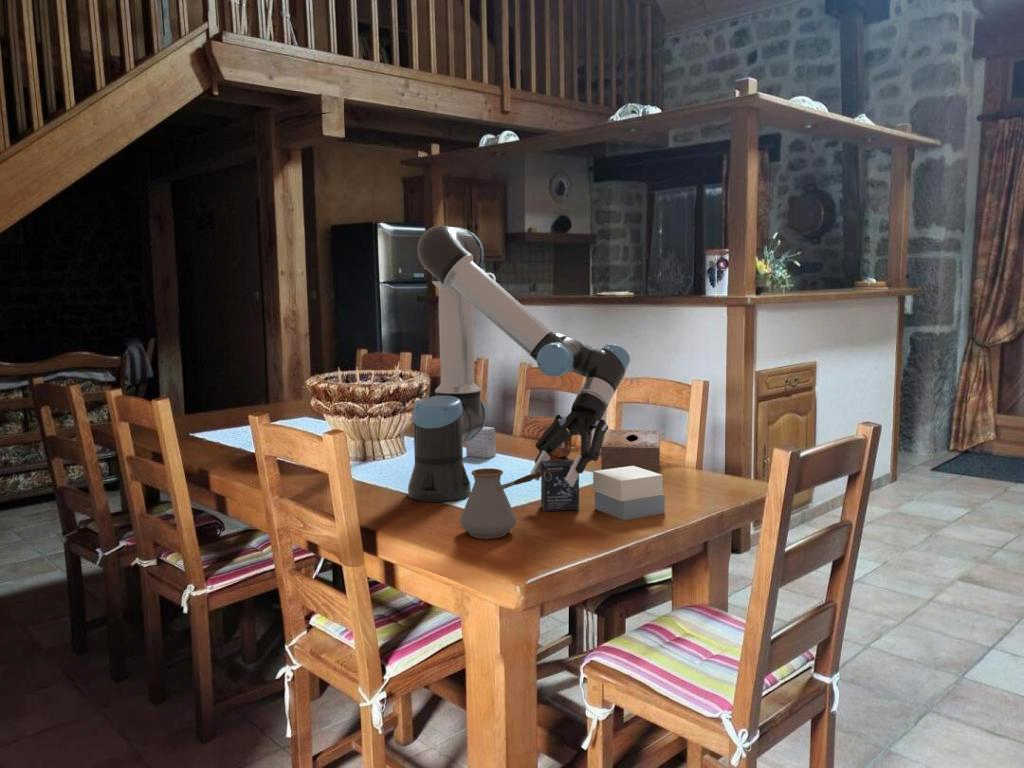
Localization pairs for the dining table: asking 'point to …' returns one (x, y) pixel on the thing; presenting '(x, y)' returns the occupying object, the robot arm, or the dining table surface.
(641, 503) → the block
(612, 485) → the tower top
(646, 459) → the tissue box cover
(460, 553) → the dining table surface
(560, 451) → the tin
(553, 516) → the dining table surface
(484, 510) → the coffee pot
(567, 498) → the box
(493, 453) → the medicine box
